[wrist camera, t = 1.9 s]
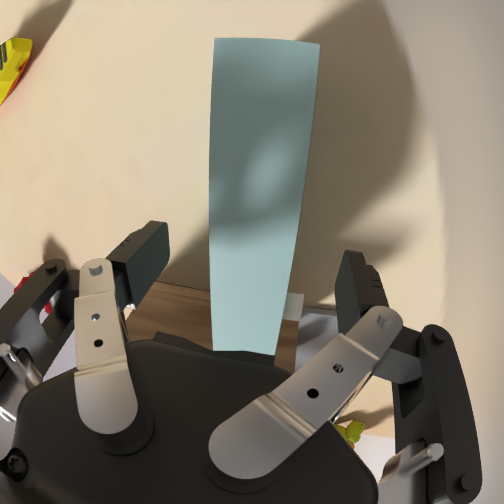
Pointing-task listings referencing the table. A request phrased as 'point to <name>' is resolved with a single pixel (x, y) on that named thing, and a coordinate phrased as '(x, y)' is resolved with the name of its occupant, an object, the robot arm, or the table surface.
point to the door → (257, 185)
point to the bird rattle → (351, 432)
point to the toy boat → (12, 63)
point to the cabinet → (200, 323)
